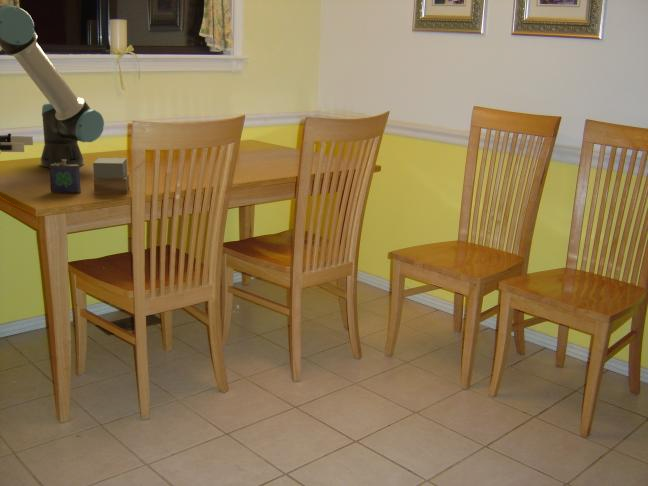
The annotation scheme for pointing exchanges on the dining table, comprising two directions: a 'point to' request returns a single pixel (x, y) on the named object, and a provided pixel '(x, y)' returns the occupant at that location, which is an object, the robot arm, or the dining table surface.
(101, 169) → the tower top
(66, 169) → the flask
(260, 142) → the dining table surface
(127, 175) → the tower base
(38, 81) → the robot arm
